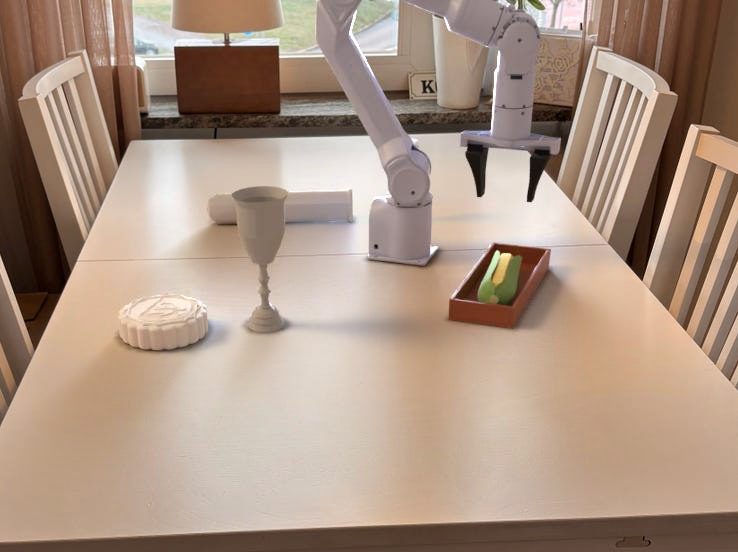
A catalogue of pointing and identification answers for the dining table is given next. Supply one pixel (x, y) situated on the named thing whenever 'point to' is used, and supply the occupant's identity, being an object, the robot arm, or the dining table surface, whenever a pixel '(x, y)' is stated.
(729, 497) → the dining table surface
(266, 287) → the chalice
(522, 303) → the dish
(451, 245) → the dining table surface
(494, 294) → the edible corn
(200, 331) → the mooncake
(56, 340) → the dining table surface
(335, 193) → the tube
